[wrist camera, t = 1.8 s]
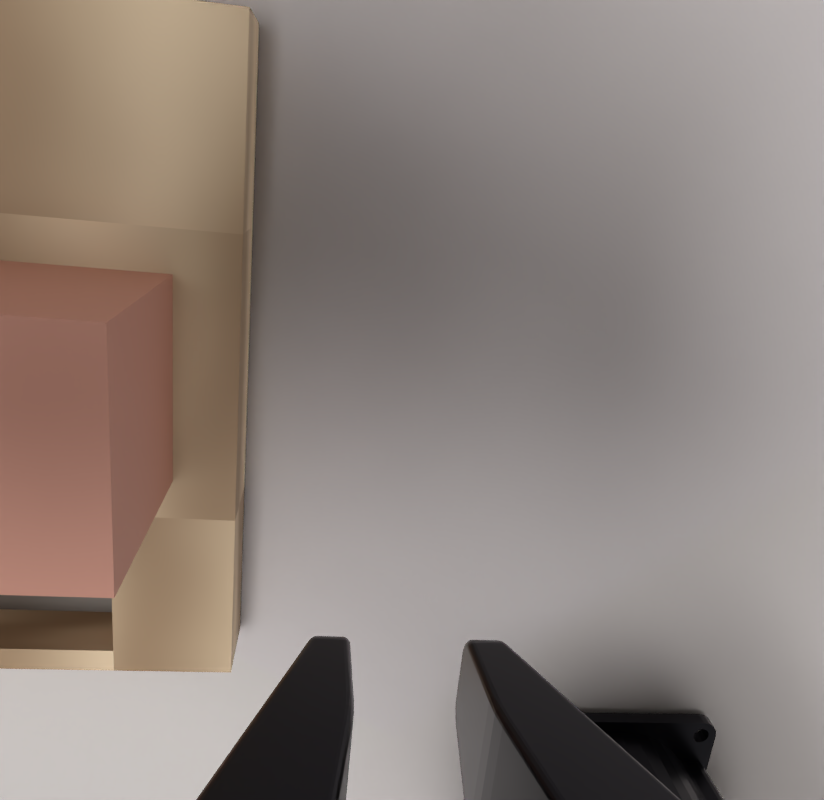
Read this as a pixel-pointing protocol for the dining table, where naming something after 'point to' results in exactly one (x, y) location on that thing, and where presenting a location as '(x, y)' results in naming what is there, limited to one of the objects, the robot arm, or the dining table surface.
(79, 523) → the block
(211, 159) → the trap box
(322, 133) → the dining table surface
